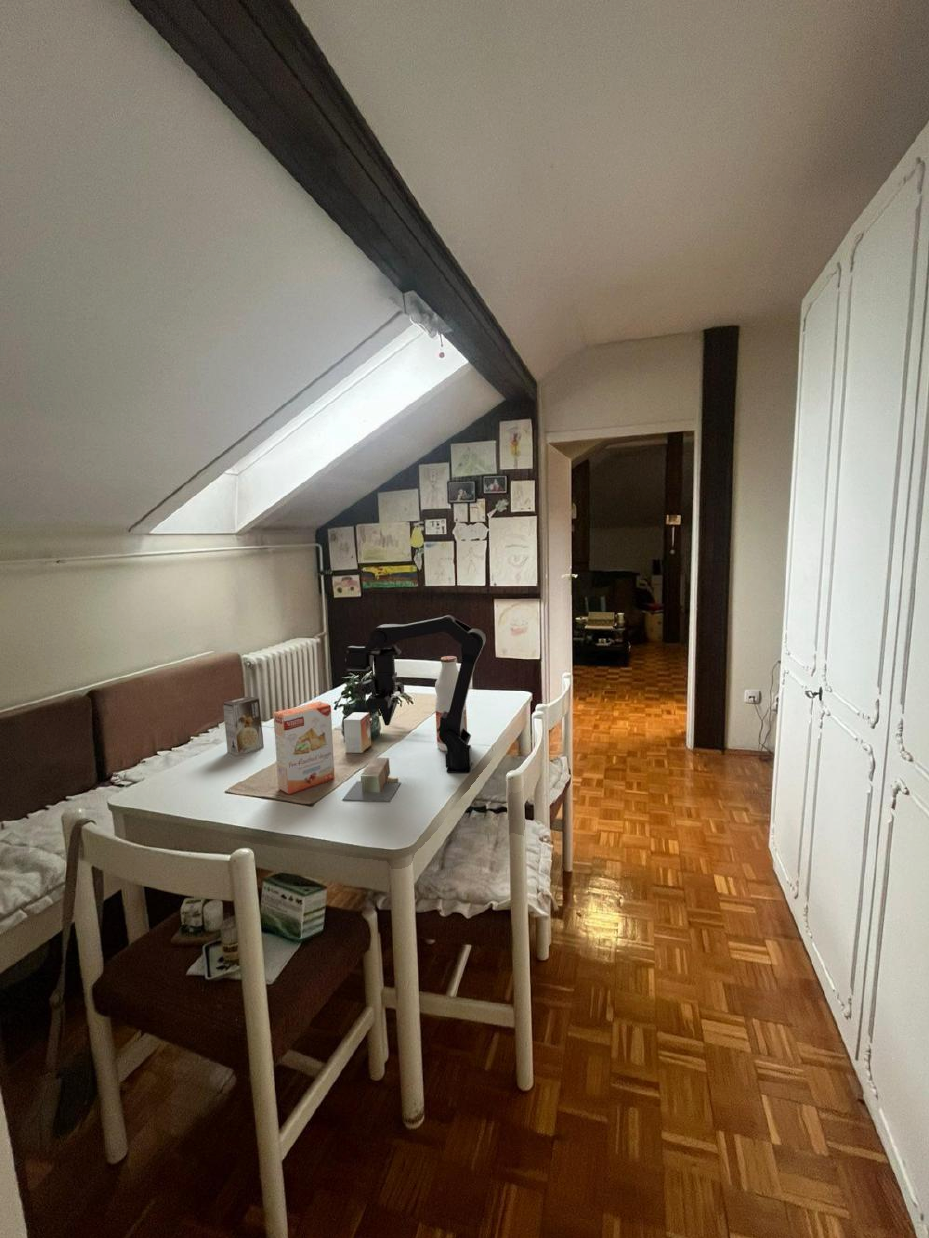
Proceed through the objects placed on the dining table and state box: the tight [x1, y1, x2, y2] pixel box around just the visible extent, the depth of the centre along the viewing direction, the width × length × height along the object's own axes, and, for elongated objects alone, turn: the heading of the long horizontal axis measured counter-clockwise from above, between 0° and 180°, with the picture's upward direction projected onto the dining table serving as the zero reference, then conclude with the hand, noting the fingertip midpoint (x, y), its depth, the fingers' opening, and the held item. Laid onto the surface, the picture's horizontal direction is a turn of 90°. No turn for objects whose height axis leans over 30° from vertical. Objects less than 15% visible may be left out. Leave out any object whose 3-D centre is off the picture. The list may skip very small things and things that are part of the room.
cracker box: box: [272, 701, 335, 795], centre depth 154 cm, size 14×6×21 cm, turn 136°
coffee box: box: [222, 695, 265, 757], centre depth 182 cm, size 9×6×16 cm
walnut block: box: [360, 757, 391, 793], centre depth 152 cm, size 4×4×10 cm
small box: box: [343, 711, 372, 754], centre depth 180 cm, size 8×6×10 cm
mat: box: [341, 780, 402, 803], centre depth 149 cm, size 12×11×1 cm
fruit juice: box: [434, 655, 468, 752], centre depth 178 cm, size 9×9×28 cm
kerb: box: [386, 777, 399, 782], centre depth 155 cm, size 10×1×1 cm, turn 81°
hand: (387, 725), depth 163 cm, fingers closed
